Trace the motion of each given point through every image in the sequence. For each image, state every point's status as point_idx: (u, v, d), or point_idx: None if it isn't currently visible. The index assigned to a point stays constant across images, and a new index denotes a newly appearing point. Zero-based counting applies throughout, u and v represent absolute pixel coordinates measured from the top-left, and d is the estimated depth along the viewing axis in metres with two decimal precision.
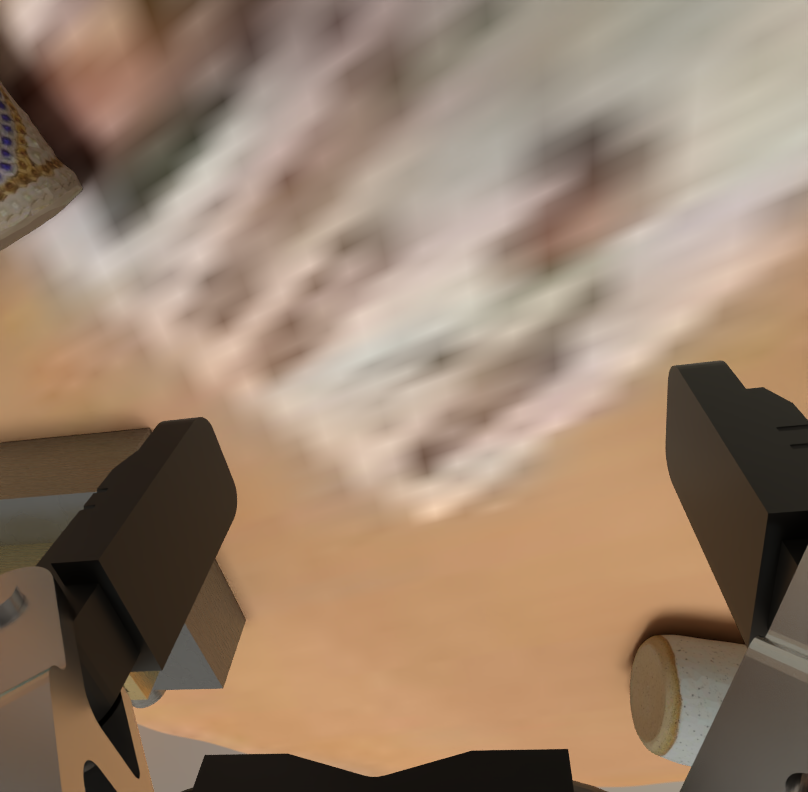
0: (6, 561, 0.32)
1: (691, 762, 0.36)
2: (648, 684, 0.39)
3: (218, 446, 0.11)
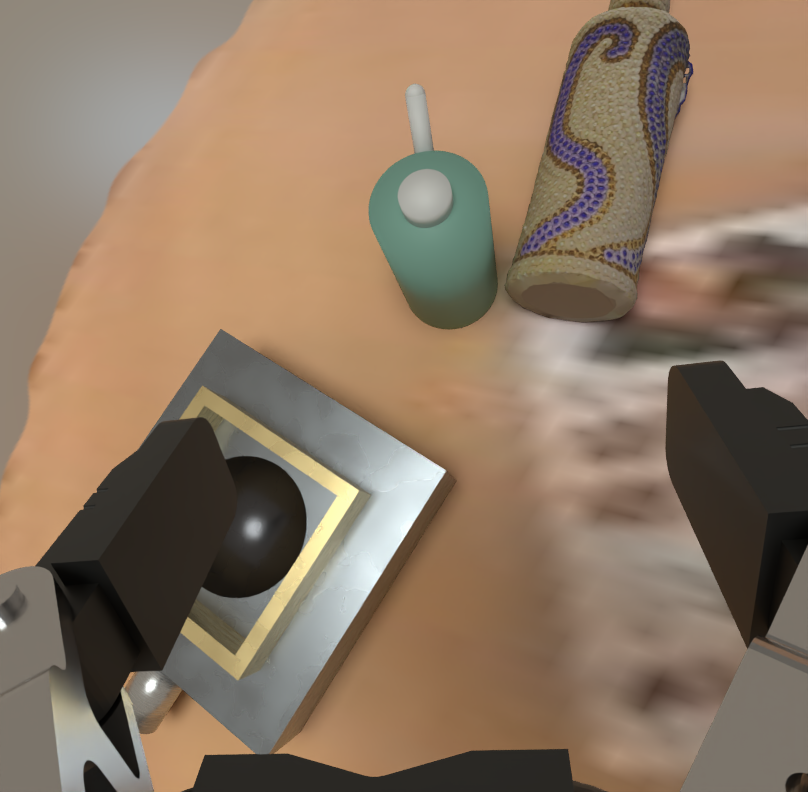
0: (306, 453, 0.33)
1: None
2: None
3: (218, 446, 0.11)
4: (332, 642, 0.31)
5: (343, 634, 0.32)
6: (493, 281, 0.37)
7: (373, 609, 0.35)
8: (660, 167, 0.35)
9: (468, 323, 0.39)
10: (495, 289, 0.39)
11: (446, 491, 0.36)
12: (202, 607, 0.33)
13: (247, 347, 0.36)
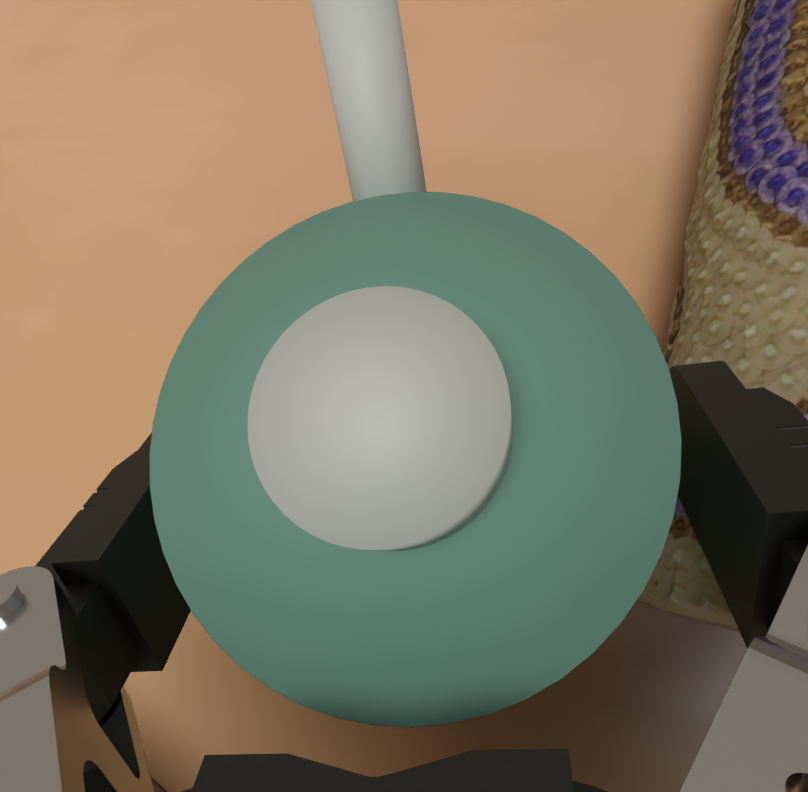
0: None
1: None
2: None
3: None
4: None
5: None
6: None
7: None
8: None
9: None
10: None
11: None
12: None
13: None
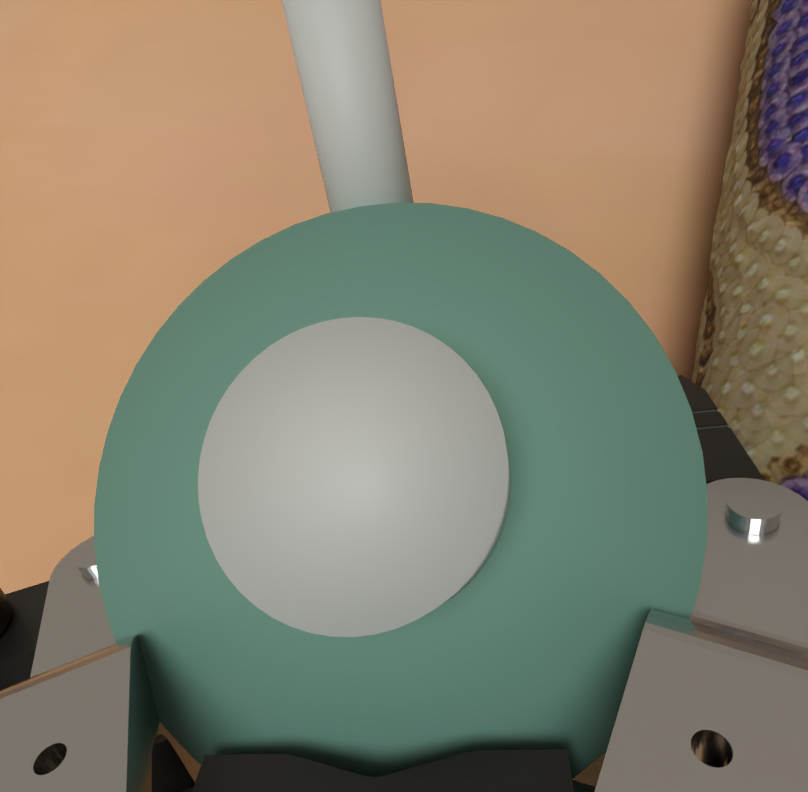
0: None
1: None
2: None
3: None
4: None
5: None
6: None
7: None
8: None
9: None
10: None
11: None
12: None
13: None
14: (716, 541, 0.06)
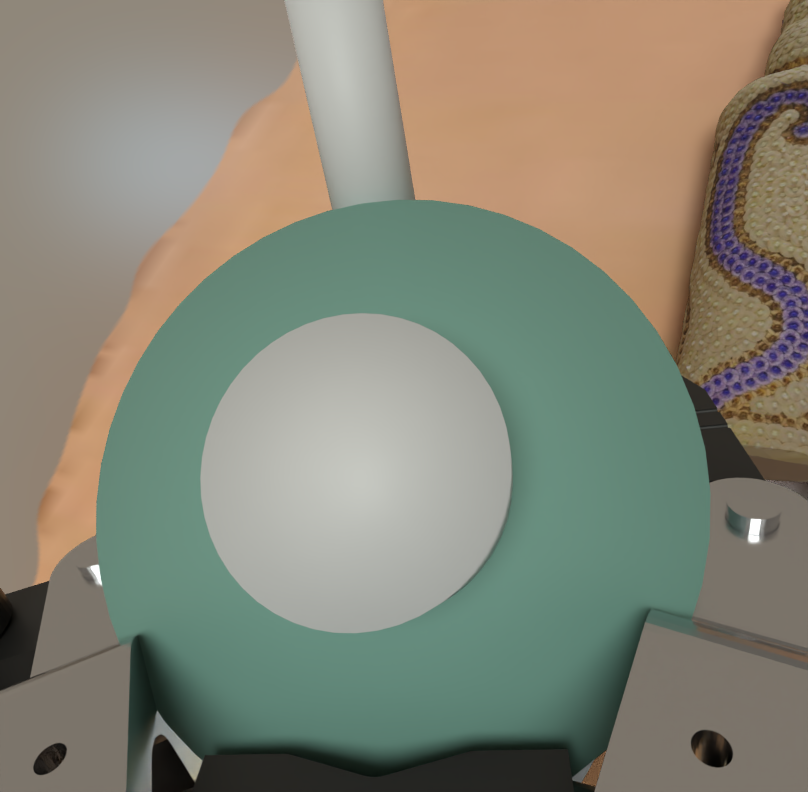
0: None
1: None
2: None
3: None
4: None
5: None
6: None
7: None
8: None
9: None
10: None
11: None
12: None
13: None
14: (716, 541, 0.06)
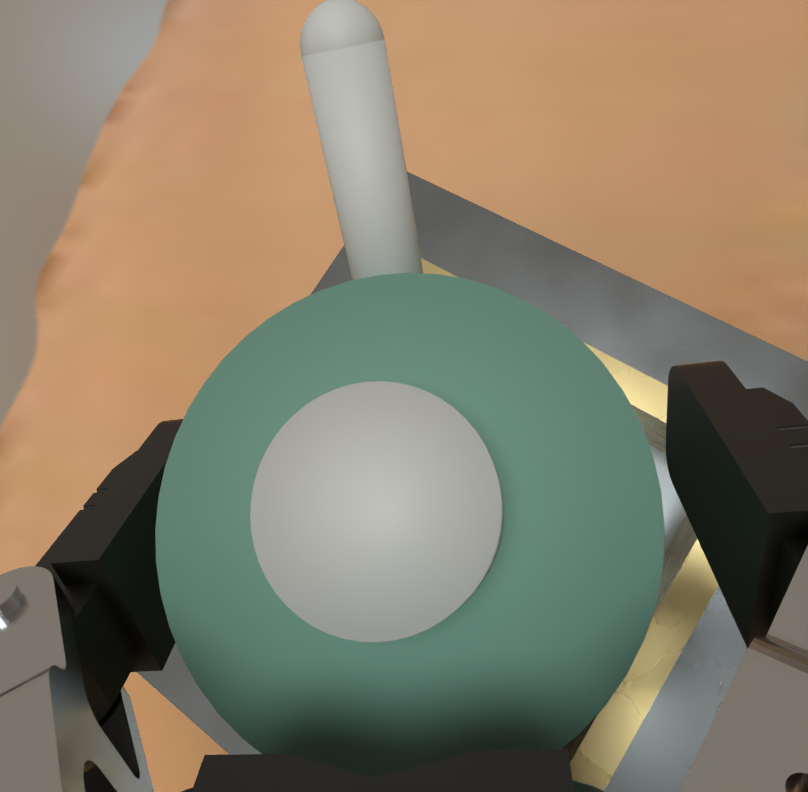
0: None
1: None
2: None
3: None
4: None
5: None
6: None
7: None
8: None
9: None
10: None
11: None
12: None
13: (453, 196, 0.19)
14: None
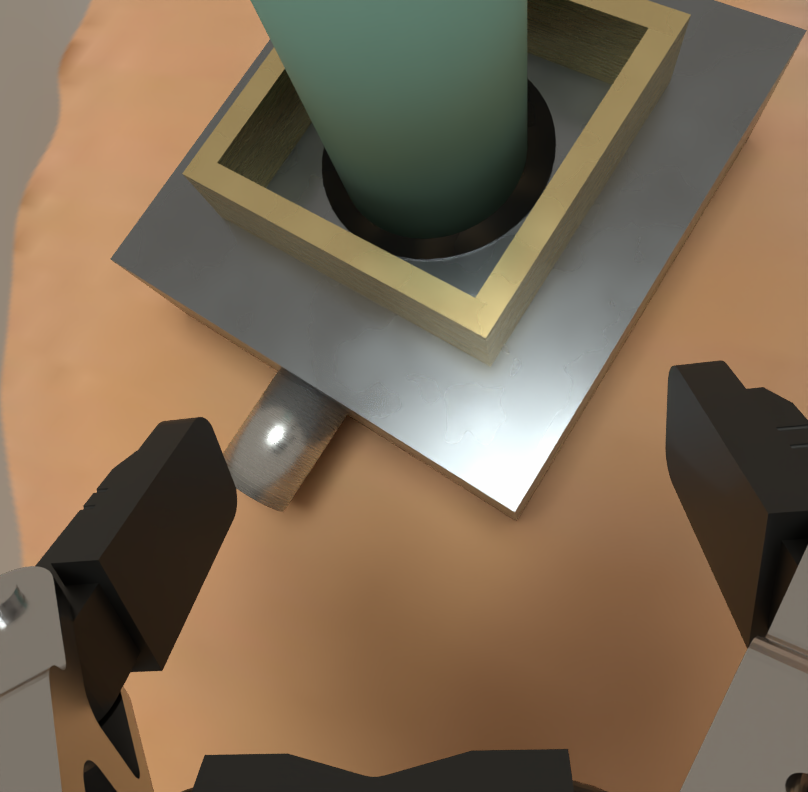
0: None
1: None
2: None
3: (218, 446, 0.11)
4: (626, 310, 0.18)
5: (643, 297, 0.18)
6: (522, 122, 0.17)
7: (637, 319, 0.22)
8: None
9: (466, 224, 0.19)
10: (524, 152, 0.18)
11: (747, 137, 0.22)
12: None
13: None
14: None
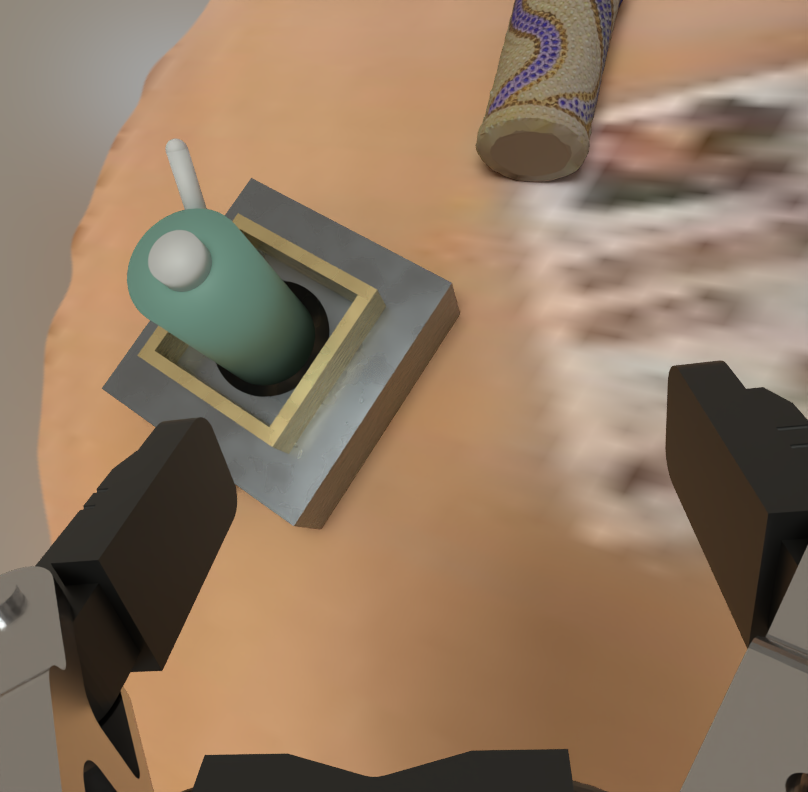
0: None
1: None
2: None
3: (218, 446, 0.11)
4: (353, 427, 0.36)
5: (362, 420, 0.36)
6: (298, 339, 0.35)
7: (386, 420, 0.40)
8: (607, 36, 0.40)
9: (280, 380, 0.37)
10: (308, 345, 0.37)
11: (451, 318, 0.41)
12: (237, 403, 0.37)
13: (275, 192, 0.41)
14: None
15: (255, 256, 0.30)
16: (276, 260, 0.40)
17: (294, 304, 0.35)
